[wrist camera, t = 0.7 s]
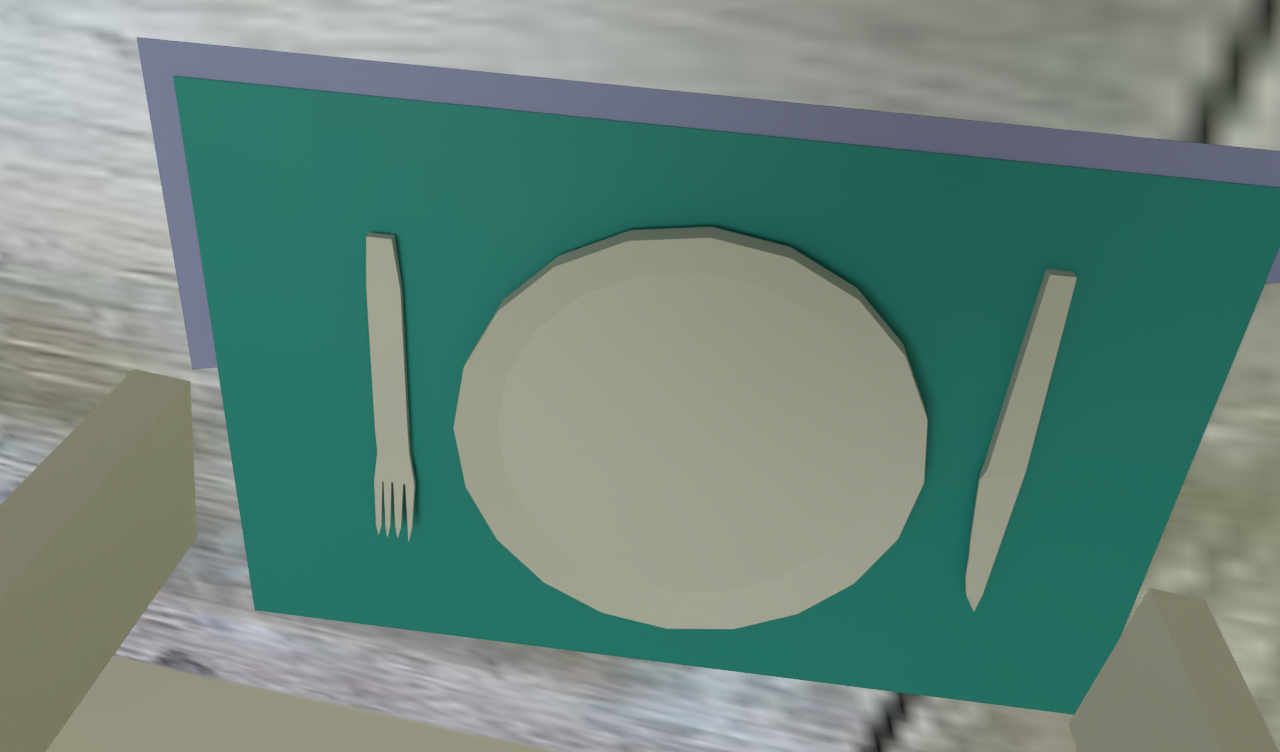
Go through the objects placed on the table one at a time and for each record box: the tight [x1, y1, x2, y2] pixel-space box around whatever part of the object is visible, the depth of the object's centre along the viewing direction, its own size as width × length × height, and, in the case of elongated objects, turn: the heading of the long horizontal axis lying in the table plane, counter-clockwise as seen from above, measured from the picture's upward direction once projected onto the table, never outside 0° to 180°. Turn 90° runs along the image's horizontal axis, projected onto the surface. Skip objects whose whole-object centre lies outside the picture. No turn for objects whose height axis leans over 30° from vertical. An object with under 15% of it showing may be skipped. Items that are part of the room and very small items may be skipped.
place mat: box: [137, 37, 1280, 714], centre depth 47 cm, size 45×30×2 cm
